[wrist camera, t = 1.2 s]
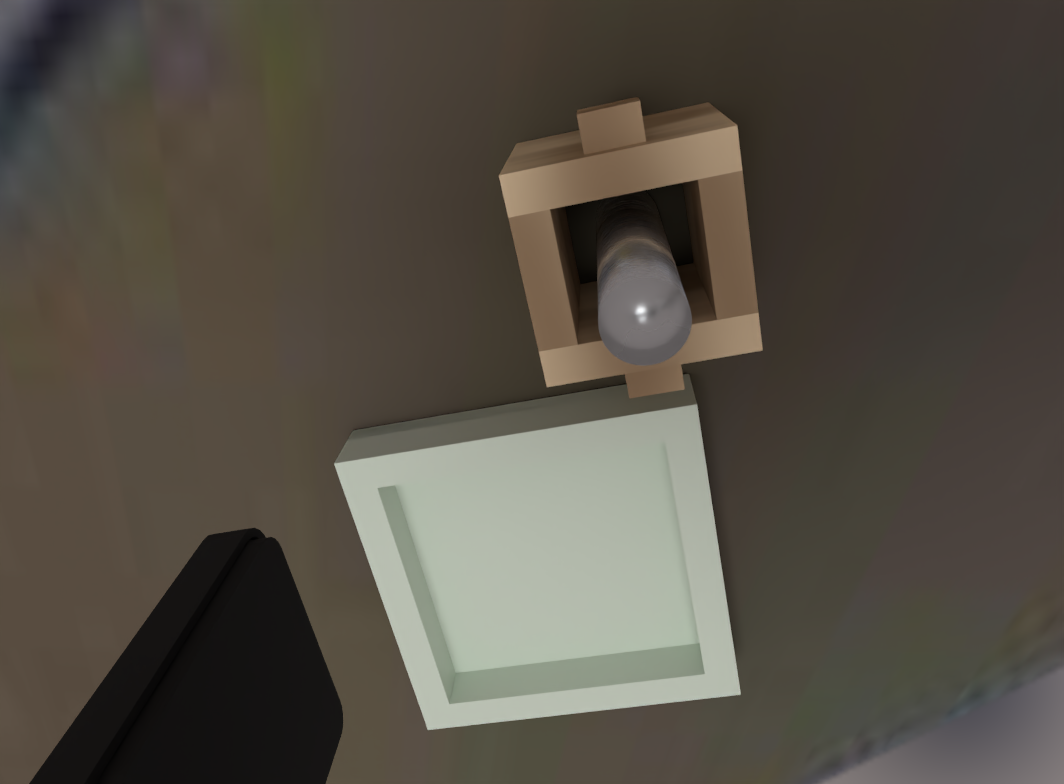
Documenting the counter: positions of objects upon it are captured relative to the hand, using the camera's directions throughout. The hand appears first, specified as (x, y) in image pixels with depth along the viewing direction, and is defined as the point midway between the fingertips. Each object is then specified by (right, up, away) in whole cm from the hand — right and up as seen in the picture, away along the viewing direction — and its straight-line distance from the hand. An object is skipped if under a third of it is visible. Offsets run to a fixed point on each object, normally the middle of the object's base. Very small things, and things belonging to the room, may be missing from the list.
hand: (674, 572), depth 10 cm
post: (+1, +8, +17) cm, 19 cm away
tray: (-1, -4, +23) cm, 23 cm away
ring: (+1, +8, +17) cm, 19 cm away
